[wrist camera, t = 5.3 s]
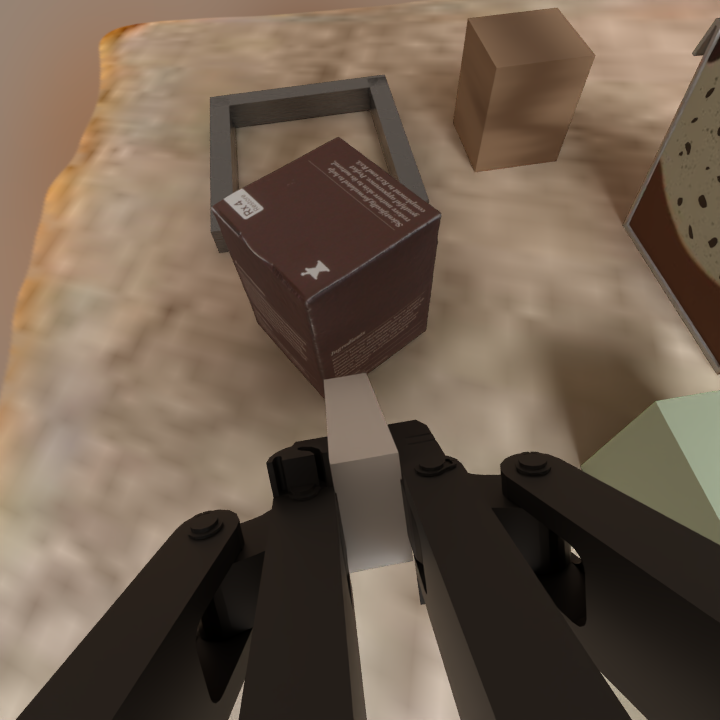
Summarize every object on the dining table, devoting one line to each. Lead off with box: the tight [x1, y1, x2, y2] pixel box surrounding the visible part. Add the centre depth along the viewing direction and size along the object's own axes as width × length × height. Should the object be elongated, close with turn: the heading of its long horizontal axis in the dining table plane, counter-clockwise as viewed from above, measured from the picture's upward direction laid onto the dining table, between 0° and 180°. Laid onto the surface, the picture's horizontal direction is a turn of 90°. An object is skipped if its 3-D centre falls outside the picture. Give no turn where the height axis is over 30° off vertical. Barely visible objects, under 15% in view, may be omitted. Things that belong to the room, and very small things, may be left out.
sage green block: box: [581, 390, 720, 545], centre depth 15 cm, size 5×5×6 cm
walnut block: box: [453, 8, 595, 172], centre depth 27 cm, size 5×5×6 cm
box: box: [211, 137, 441, 399], centre depth 20 cm, size 6×6×7 cm
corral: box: [210, 75, 429, 253], centre depth 28 cm, size 11×12×2 cm
